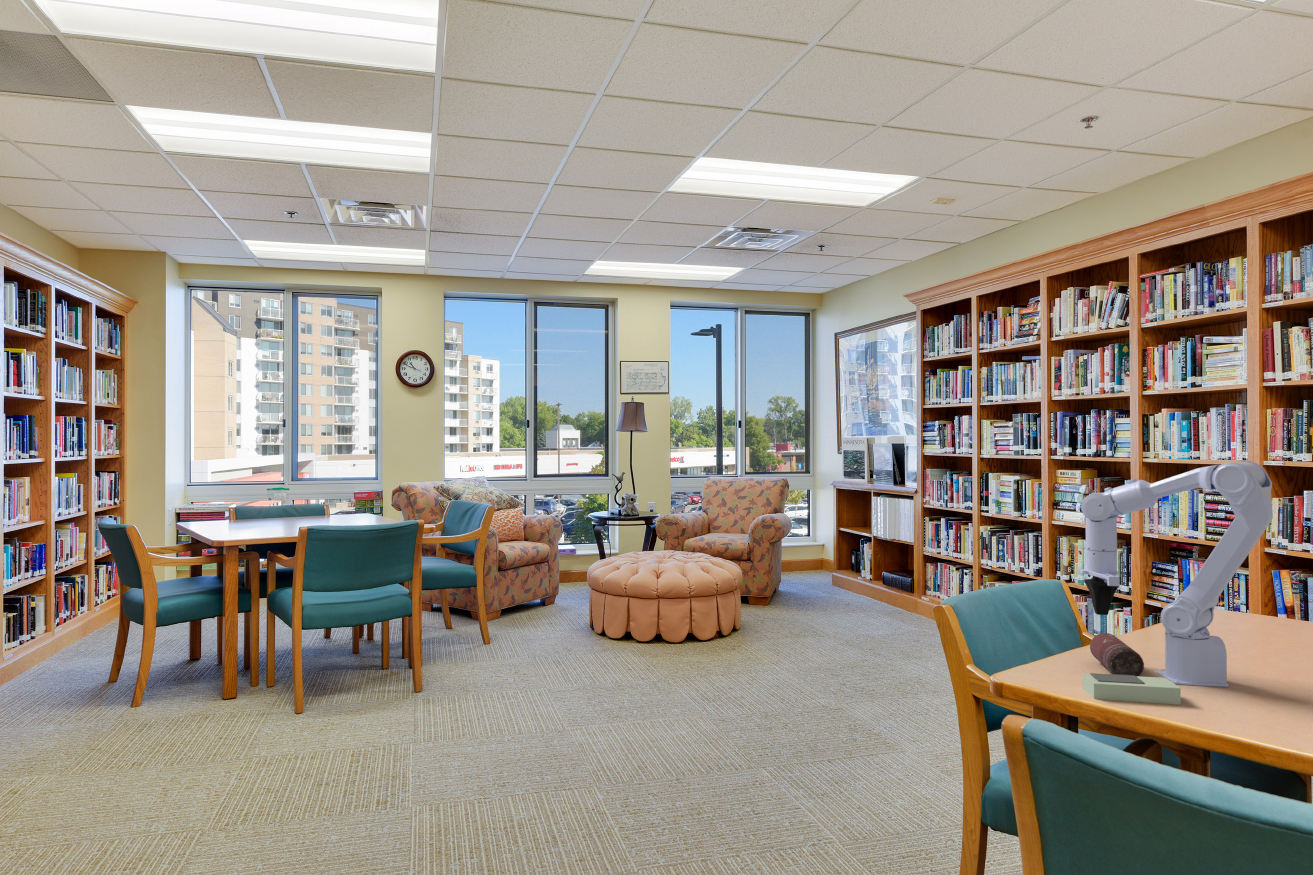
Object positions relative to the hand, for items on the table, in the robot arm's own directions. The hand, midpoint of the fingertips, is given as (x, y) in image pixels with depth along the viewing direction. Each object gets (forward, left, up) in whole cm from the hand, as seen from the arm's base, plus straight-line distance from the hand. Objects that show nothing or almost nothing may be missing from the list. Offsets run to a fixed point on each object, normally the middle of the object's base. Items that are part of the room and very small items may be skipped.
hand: (1101, 614), depth 164 cm
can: (0, +14, -7) cm, 15 cm away
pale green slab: (+3, +24, -10) cm, 26 cm away
